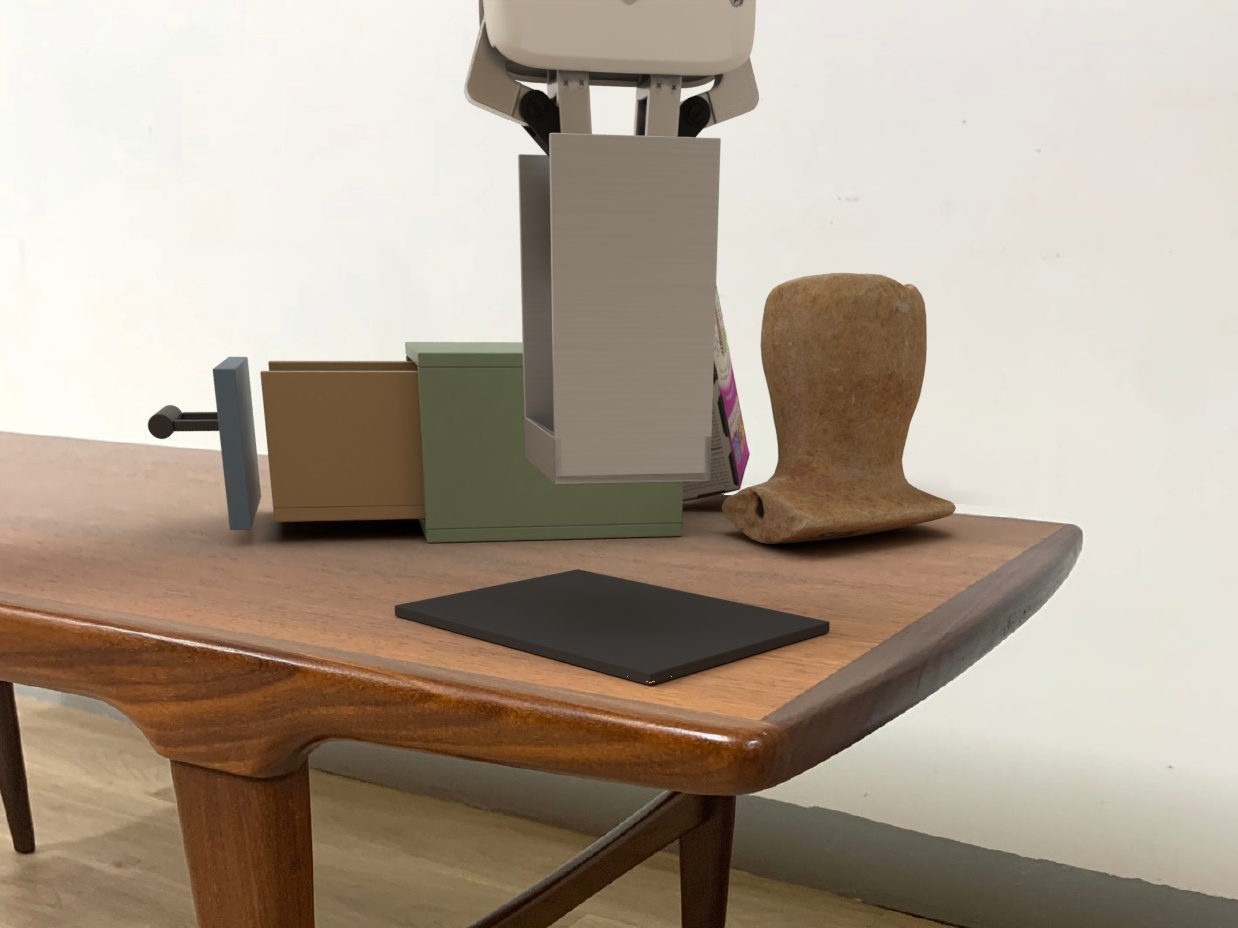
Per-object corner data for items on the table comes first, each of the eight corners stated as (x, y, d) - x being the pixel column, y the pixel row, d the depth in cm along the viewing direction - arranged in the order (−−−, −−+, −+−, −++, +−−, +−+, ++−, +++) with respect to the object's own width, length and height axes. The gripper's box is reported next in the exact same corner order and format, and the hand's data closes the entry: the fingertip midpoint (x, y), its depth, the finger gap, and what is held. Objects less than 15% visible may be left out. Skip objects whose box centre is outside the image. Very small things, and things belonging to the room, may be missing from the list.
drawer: (153, 532, 74) (131, 368, 70) (176, 499, 85) (158, 356, 82) (481, 524, 78) (475, 368, 74) (462, 493, 89) (456, 357, 85)
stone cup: (842, 510, 90) (860, 274, 84) (978, 535, 81) (1008, 275, 75) (671, 530, 82) (677, 271, 76) (802, 561, 73) (820, 270, 67)
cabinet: (427, 543, 77) (417, 352, 73) (413, 506, 89) (404, 341, 85) (682, 536, 80) (687, 353, 76) (635, 502, 92) (637, 342, 88)
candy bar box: (686, 471, 98) (639, 239, 91) (751, 457, 97) (708, 221, 90) (669, 506, 89) (615, 249, 81) (741, 492, 87) (692, 230, 80)
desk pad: (394, 615, 60) (393, 605, 60) (577, 578, 68) (577, 569, 68) (650, 686, 50) (650, 673, 50) (829, 632, 58) (830, 621, 58)
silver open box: (555, 484, 52) (550, 132, 47) (525, 457, 60) (517, 154, 55) (710, 481, 53) (721, 138, 48) (659, 455, 61) (664, 158, 56)
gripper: (398, -350, 41) (429, 279, 48) (858, -303, 44) (822, 283, 52) (389, -262, 48) (417, 279, 55) (788, -226, 51) (765, 283, 58)
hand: (612, 278), depth 53 cm, fingers closed on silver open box, 1 cm apart
